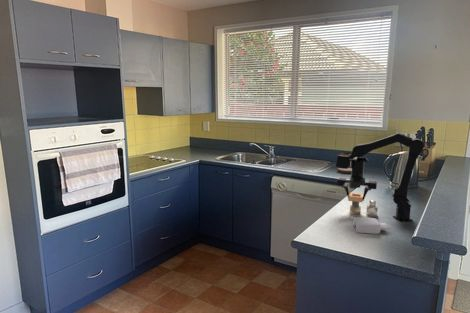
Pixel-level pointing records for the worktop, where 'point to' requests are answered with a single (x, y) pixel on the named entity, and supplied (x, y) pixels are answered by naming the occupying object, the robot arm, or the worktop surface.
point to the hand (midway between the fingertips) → (355, 199)
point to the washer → (355, 197)
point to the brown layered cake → (349, 170)
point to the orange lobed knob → (372, 209)
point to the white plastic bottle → (369, 225)
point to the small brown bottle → (355, 208)
